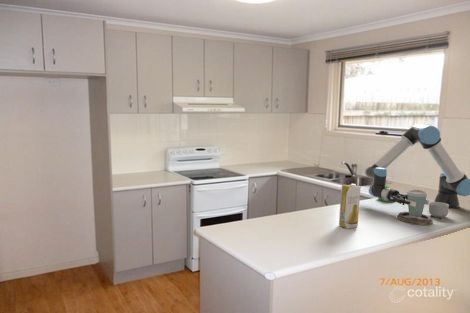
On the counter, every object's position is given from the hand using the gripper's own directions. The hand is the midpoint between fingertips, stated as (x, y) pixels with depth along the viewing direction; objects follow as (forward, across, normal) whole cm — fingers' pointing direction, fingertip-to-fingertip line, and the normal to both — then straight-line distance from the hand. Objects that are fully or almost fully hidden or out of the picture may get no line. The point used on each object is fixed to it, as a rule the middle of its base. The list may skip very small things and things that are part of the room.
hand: (422, 203), depth 215 cm
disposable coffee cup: (-4, 0, -9) cm, 10 cm away
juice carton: (-9, +47, -11) cm, 49 cm away
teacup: (-5, -22, -11) cm, 25 cm away
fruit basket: (-45, -23, -11) cm, 52 cm away
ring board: (-4, 0, -11) cm, 12 cm away
